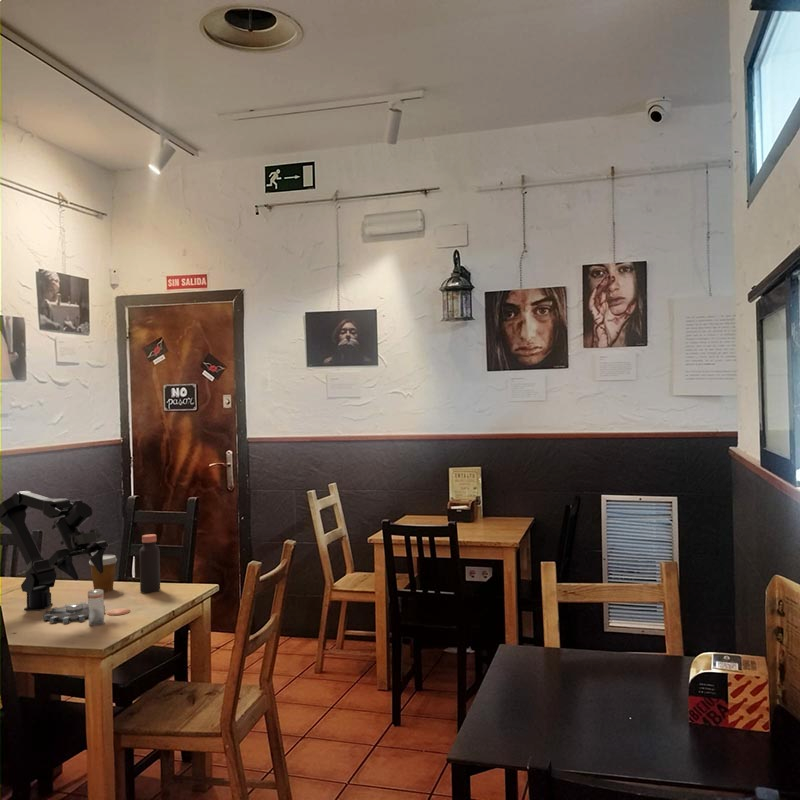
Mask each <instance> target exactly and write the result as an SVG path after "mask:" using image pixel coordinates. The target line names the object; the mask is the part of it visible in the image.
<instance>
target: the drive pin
mask: <svg viewBox="0 0 800 800" xmlns="http://www.w3.org/2000/svg"><path fill="white" fill-rule="evenodd" d="M104 594H105V592H104V591H103V590H102V589H95V590H94V589H91V590H89V591H87V604H88V618H87V619H88V626H89V627H95V626H102V625H104V624H105V613H104V605H105V603H104V597H105V595H104Z"/></svg>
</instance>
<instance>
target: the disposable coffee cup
mask: <svg viewBox="0 0 800 800" xmlns="http://www.w3.org/2000/svg"><path fill="white" fill-rule="evenodd" d="M117 561H118V558H117V556H116V555H115V554H103V573H102V574H100V573H99V572H98V570H97V569H96V567H95V566H94V564H93V563H92V562H91V560H90V559H89V561H88V563H89V565H90V573H91V578H92V586H93V590H95V589H102V590H103V591H104V593H107V592H111V591H113V590H114V582H115V573H116V563H117Z"/></svg>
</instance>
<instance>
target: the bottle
mask: <svg viewBox="0 0 800 800" xmlns="http://www.w3.org/2000/svg"><path fill="white" fill-rule="evenodd" d="M141 542H142V547H141V548H140V549H139V583H140V584H139V585H140V586H139V589H140V592H141V593H143V594H153V593H157V592H160V590H161V563H160V561H161V560H160V559H161V558H160V557H161V555H160V553H161V552H160V551H161V550H160V547H158V545H157V544H156V543H157V542H158V541H157V534H155V533H152V534H151V533H150V534H144V535H141Z"/></svg>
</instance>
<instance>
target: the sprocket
mask: <svg viewBox="0 0 800 800" xmlns="http://www.w3.org/2000/svg"><path fill="white" fill-rule="evenodd" d="M105 607H106V606H105V604H104V614H105V613H106V612H105V611H106V609H105ZM86 619H89V618H88V603H87V602H86V601H85V602H77V603H68V604H65V606H62V607H58V606H55V607H51V610H46V611H45V612H44V613H43V621H44V622H47V621H46V620H48V621H49V623H50V624H55V623H58V622H62V624H69V623H70V622H75V621H76V622H77V621H78V622H85V621H86Z"/></svg>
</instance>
